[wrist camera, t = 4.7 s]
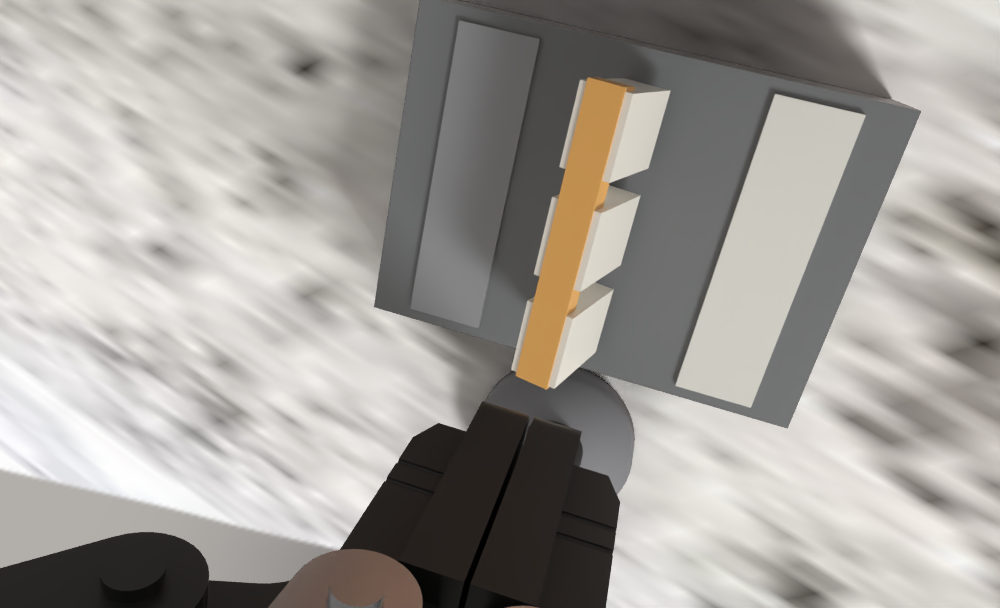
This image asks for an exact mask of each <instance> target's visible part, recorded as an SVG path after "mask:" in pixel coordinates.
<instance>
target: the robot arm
mask: <svg viewBox="0 0 1000 608" xmlns="http://www.w3.org/2000/svg"><path fill="white" fill-rule="evenodd" d="M529 421H530V415H527V414H523V413H520V412H517V411H513V410H510V409H507V408H504V407H500V406H497V405H494V404H490V403H487V402H484V401H483V402H482V403H481V405H480V407H479V409H478V411H477V413H476V414H475V416H474V418H473V420H472V422H471V424H470V426H469V428H468V430H467V431H462V430H459V429H456V428H453V427H449V426H446V425H443V424H440V423H438V424H436V425H434V426H432V427H431V428H429V429H427V430H425V431H423V432H422V433H420V434H418V435H416V436H414V437H413V438H412V440H411V441H410V443H409V444H408V446H407V447H406V449H405V450H404V452H403V453H402V455H401V457H400V458H399V461H398V463H396V464H395V466H394V467H393V469H392V470H391V472H390V473H389V475H388V477H387V480H386V482H385V481H384V483H383V484H382V486H381V487H380V489H379V490H378V492H377V494H376V495H375V497H374V498H373V500H372V501H371V503H370V504H369V506H368V507H367V509H366V510H365V512H364V514H363V515H362V517H361V518H360V520H359V521H358V523H357V524H356V526H355V527H354V529H353V530H352V532H351V534H350V535H349V537H348V538H347V540H346V541H345V543H344V544H343V546H342V547H341V549H340V550H337V551H332V552H329V553H326V554H323V555H320V556H318V557H317V558H314V559H312V560H311V561H310V562H308V563H307V564H305V565H304V566H303V567H302V568H301V569H300V570H299V571H298V572H297V573H296V574H295V576H294V577H293V578H292V579H291V580H290V581H287V582H280V583H271V584H258V583H241V582H226V581H210V580H209V571H208V565H207V563H206V560H205V558H204V557H203V556H202V554H201V552H200V551H199V550H198V549H197V548H195V547H194V546H193V545H192V544H190V543H189V542H187V541H185V540H183V539H181V538H178V537H175V536H172V535H167V534H163V533H154V532H139V533H130V534H124V535H120V536H115V537H111V538H108V539H104V540H100V541H97V542H93V543H90V544H86V545H82V546H79V547H75V548H72V549H68V550H65V551H61V552H58V553H54V554H50V555H47V556H43V557H40V558H36V559H32V560H29V561H25V562H21V563H18V564H14V565H11V566H7V567H3V568H0V608H606V601H607V594H608V586H609V579H610V572H611V565H612V557H613V555H612V553H613V550H614V543H615V535H616V533H615V532H616V528H617V521H618V513H619V506H620V501H619V499H618V496H617V494H616V492H615V490H614V487H613V485H612V483H611V480H610V478H609V476H608V475H604V474H601V473H598V472H595V471H592V470H588V469H585V468H582V467H579V466H576V465H574V461H575V457H576V453H577V449H578V445H579V441H580V437H581V433H582V431H580V430H576V429H573V428H570V427H567V426H563V425H560V424H557V423H553V422H550V421H547V420H544V419H540V418H537V417H534V418H533V421H532V423H531V426H530V429H529V431H528V434H527V430H528V426H529ZM526 434H527V437H526ZM525 438H526V439H525Z"/></svg>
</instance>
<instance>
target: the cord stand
mask: <svg viewBox="0 0 1000 608" xmlns="http://www.w3.org/2000/svg"><path fill="white" fill-rule="evenodd" d="M485 402H487V403H490V404H494V405H497V406H500V407H504V408H507V409H510V410H513V411H517V412H520V413H523V414H527V415H530V421H529V426H528V430H527V434H528V431H529V429H530V426H531V423H532V421H533V418H534V417H537V418H540V419H544V420H547V421H550V422H553V423H557V424H560V425H563V426H567V427H570V428H573V429H576V430H580V431H582V433H581V437H580V441H579V445H578V449H577V453H576V457H575V461H574V465H576V466H579V467H582V468H585V469H588V470H592V471H595V472H598V473H601V474H604V475H608V476H609V478H610V480H611V483H612V485H613V487H614V490H615V492H616V494H618V493H619V492H620V490H621V489H622V487H623V486H624V484H625V483H626V480H627V478H628V476H629V473H630V469H631V465H632V457H633V450H634V440H635V438H634V427H633V423H632V419H631V416H630V414H629V411H628V409H627V407H626V405H625V404H624V402H623V401H622V399H621V398H620V396H619V395H618V394H617V393H616V392H615V391H614V389H613V388H612V387H611V386H609V385H608V384H607V383H606V382H605V381H604V380H602V379H601V378H599V377H598V376H596V375H594V374H593V373H591V372H589V371H587V370H585V369H582V368H579V367H578V368H577V369H576V370H575V371H574V372H573V373H572V374H571V375H569V376H568V377H567V378H566V379H565V380H564V381H563V382H561V383H560V384H559V385H558V386H557V387H556V388H555V389H553V388H551V387H549V388H548V389H547V390H546V389H544V388H541V387H539V386H537V385H535V384H532V383H530V382H528V381H526V380H524V379H521V378H519V377H517V376H516V372H515V371H513V372H511V373H510V374H508V375H506V376H505V377H504V378H503V379H501V380H500V381H499V382H498V383H497V384H496V385H495V387H494V388H493V389H492V391H491V392H490V394H489V395H488V397H487V399H486V401H485ZM527 434H526V437H527ZM525 439H526V438H525Z"/></svg>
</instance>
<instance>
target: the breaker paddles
mask: <svg viewBox="0 0 1000 608" xmlns="http://www.w3.org/2000/svg"><path fill="white" fill-rule="evenodd" d="M670 91H671V90H667V89H663V88H660V87H656V86H652V85H648V84H644V83H641V82H637V81H633V80H629V79H625V78H610V79H603V78H600V77H588V78H587V79H582V80H580V82H579V86H578V90H577V95H576V99H575V103H574V107H573V111H572V116H571V120H570V124H569V128H568V132H567V137H566V141H565V145H564V149H563V153H562V158H561V162H560V166H559V167H561V168H564V169H565V173H564V178H563V182H562V186H561V190H560V194H559V195H556V196H553V197H552V200H551V204H550V208H549V212H548V216H547V221H546V225H545V229H544V233H543V237H542V242H541V246H540V250H539V254H538V258H537V263H536V267H535V271H534V274H535V275H537V276H540V277H539V281H538V285H537V289H536V293H535V296H534V297H533V298H531V299H529V300H528V301H527V305H526V309H525V313H524V317H523V321H522V326H521V330H520V334H519V338H518V342H517V347H516V351H515V355H514V359H513V363H512V368H511V370H513V371H515V372H516V376H517V377H519V378H521V379H524V380H526V381H528V382H530V383H532V384H535V385H537V386H539V387H541V388H544V389H546V390H547V389H548V388H549V387H551V388H553V389H555V388H556V387H557V386H558V385H559V384H560V383H561V382H563V381H564V380H565V379H566V378H567V377H568V376H569V375H571V374H572V373H573V372H574V371H575V370H576V369H577V368H578V367H580V366H581V365H582V364H583V363H584V362H585V361H586V360H588V359H589V358H590V357H591V356H592V355H593V354H594V353H595V352H596V349H597V346H598V342H599V339H600V335H601V332H602V328H603V325H604V321H605V318H606V314H607V311H608V307H609V304H610V300H611V297H612V293H613V290H614V289H611V288H609V287H606V286H603V285H601V284H598V283H596V281H598V280H599V279H601V278H602V277H604V276H605V275H607V274H608V273H610V272H611V271H613V270H614V269H616V268H617V267H619V266H620V265H621V262H622V259H623V255H624V252H625V248H626V245H627V241H628V238H629V234H630V231H631V227H632V224H633V220H634V217H635V213H636V210H637V206H638V203H639V199H640V196H641V195H638V194H635V193H632V192H629V191H626V190H623V189H619V188H616V187H613V186H610V185H609V183H611V182H614V181H616V180H619V179H622V178H624V177H627V176H630V175H632V174H635V173H638V172H640V171H643V170H646V169H648V168H649V164H650V161H651V157H652V154H653V150H654V147H655V143H656V140H657V137H658V133H659V130H660V126H661V123H662V119H663V116H664V112H665V109H666V105H667V102H668V98H669V95H670Z"/></svg>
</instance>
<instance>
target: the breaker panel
mask: <svg viewBox="0 0 1000 608" xmlns="http://www.w3.org/2000/svg"><path fill="white" fill-rule="evenodd" d="M588 77H600V78H603V79H610V78H625V79H629V80H633V81H637V82H641V83H644V84H648V85H652V86H656V87H660V88H663V89H667V90H671V91H670V95H669V98H668V102H667V105H666V109H665V112H664V116H663V119H662V123H661V126H660V130H659V133H658V137H657V140H656V143H655V147H654V150H653V154H652V157H651V161H650V164H649V168H648V169H646V170H643V171H640V172H638V173H635V174H632V175H630V176H627V177H624V178H622V179H619V180H616V181H614V182H611V183H609V185H610V186H613V187H616V188H619V189H623V190H626V191H629V192H632V193H635V194H638V195H641V196H640V199H639V203H638V206H637V210H636V213H635V217H634V220H633V224H632V227H631V231H630V234H629V238H628V241H627V245H626V248H625V252H624V255H623V259H622V262H621V265H620V266H619V267H617V268H616V269H614V270H613V271H611V272H610V273H608V274H607V275H605V276H604V277H602V278H601V279H599V280H598V281H596V283H598V284H601V285H603V286H606V287H609V288H611V289H614V290H613V293H612V297H611V300H610V304H609V307H608V311H607V314H606V318H605V321H604V325H603V328H602V332H601V335H600V339H599V342H598V346H597V349H596V352H595V353H594V354H593V355H592V356H591V357H590V358H589V359H588V360H586V361H585V362H584V363H583V364H582V365H581V366H580V368H584V369H587V370H590V371H594V372H597V373H601V374H604V375H607V376H611V377H614V378H618V379H621V380H624V381H628V382H631V383H635V384H638V385H641V386H645V387H648V388H652V389H655V390H658V391H662V392H665V393H669V394H672V395H675V396H679V397H682V398H686V399H689V400H693V401H696V402H699V403H703V404H706V405H710V406H713V407H716V408H720V409H723V410H727V411H730V412H733V413H737V414H740V415H744V416H747V417H750V418H754V419H757V420H761V421H764V422H767V423H771V424H774V425H778V426H781V427H784V428H788V426H789V424H790V421H791V419H792V416H793V414H794V412H795V409H796V407H797V405H798V402H799V400H800V397H801V395H802V393H803V390H804V388H805V386H806V383H807V381H808V379H809V376H810V374H811V371H812V369H813V367H814V364H815V362H816V360H817V357H818V355H819V352H820V350H821V348H822V345H823V343H824V341H825V338H826V336H827V333H828V331H829V329H830V326H831V324H832V322H833V319H834V317H835V314H836V312H837V310H838V307H839V305H840V303H841V300H842V298H843V296H844V293H845V291H846V288H847V286H848V284H849V281H850V279H851V277H852V274H853V272H854V269H855V267H856V265H857V262H858V260H859V258H860V255H861V253H862V250H863V248H864V246H865V243H866V241H867V239H868V236H869V234H870V231H871V229H872V227H873V224H874V222H875V220H876V217H877V215H878V213H879V210H880V208H881V205H882V203H883V201H884V198H885V196H886V194H887V191H888V189H889V186H890V184H891V182H892V179H893V177H894V175H895V172H896V170H897V167H898V165H899V163H900V160H901V158H902V156H903V153H904V151H905V148H906V146H907V144H908V141H909V139H910V137H911V134H912V132H913V130H914V127H915V125H916V122H917V120H918V118H919V115H920V113H921V111H920V110H917V109H915V108H912V107H910V106H907V105H905V104H903V103H900V102H898V101H895V100H892V99H888V98H884V97H879V96H875V95H871V94H866V93H862V92H858V91H853V90H849V89H844V88H840V87H836V86H831V85H827V84H823V83H818V82H814V81H810V80H805V79H801V78H796V77H792V76H788V75H783V74H779V73H775V72H770V71H766V70H762V69H757V68H753V67H749V66H744V65H740V64H735V63H731V62H727V61H722V60H718V59H714V58H709V57H705V56H701V55H696V54H692V53H687V52H683V51H679V50H674V49H670V48H666V47H661V46H657V45H653V44H648V43H644V42H639V41H635V40H631V39H626V38H622V37H618V36H613V35H609V34H605V33H600V32H596V31H591V30H587V29H583V28H578V27H574V26H570V25H565V24H561V23H557V22H552V21H548V20H543V19H539V18H535V17H530V16H526V15H522V14H517V13H513V12H509V11H504V10H500V9H496V8H491V7H487V6H482V5H478V4H474V3H469V2H465V1H461V0H420V3H419V9H418V16H417V23H416V29H415V36H414V43H413V50H412V56H411V63H410V70H409V76H408V83H407V90H406V97H405V103H404V110H403V117H402V123H401V130H400V137H399V143H398V150H397V157H396V164H395V170H394V177H393V184H392V190H391V197H390V204H389V211H388V217H387V224H386V231H385V237H384V244H383V251H382V258H381V264H380V271H379V278H378V284H377V291H376V298H375V305H374V307H376V308H379V309H383V310H386V311H389V312H393V313H396V314H400V315H403V316H407V317H410V318H413V319H417V320H420V321H424V322H427V323H430V324H434V325H437V326H441V327H444V328H447V329H451V330H454V331H458V332H461V333H464V334H468V335H471V336H475V337H478V338H481V339H485V340H488V341H492V342H495V343H498V344H502V345H505V346H509V347H512V348H515V349H516V347H517V342H518V338H519V334H520V330H521V326H522V321H523V317H524V313H525V309H526V305H527V301H528V300H529V299H531V298H533V297H534V296H535V293H536V289H537V285H538V281H539V277H540V276H537V275H535V274H534V271H535V267H536V263H537V258H538V254H539V250H540V246H541V242H542V237H543V233H544V229H545V225H546V221H547V216H548V212H549V208H550V204H551V200H552V197H553V196H556V195H559V194H560V190H561V186H562V182H563V178H564V173H565V169H564V168H561V167H559V166H560V162H561V158H562V153H563V149H564V145H565V141H566V137H567V132H568V128H569V124H570V120H571V116H572V111H573V107H574V103H575V99H576V95H577V90H578V86H579V82H580V80H582V79H587V78H588Z"/></svg>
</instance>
